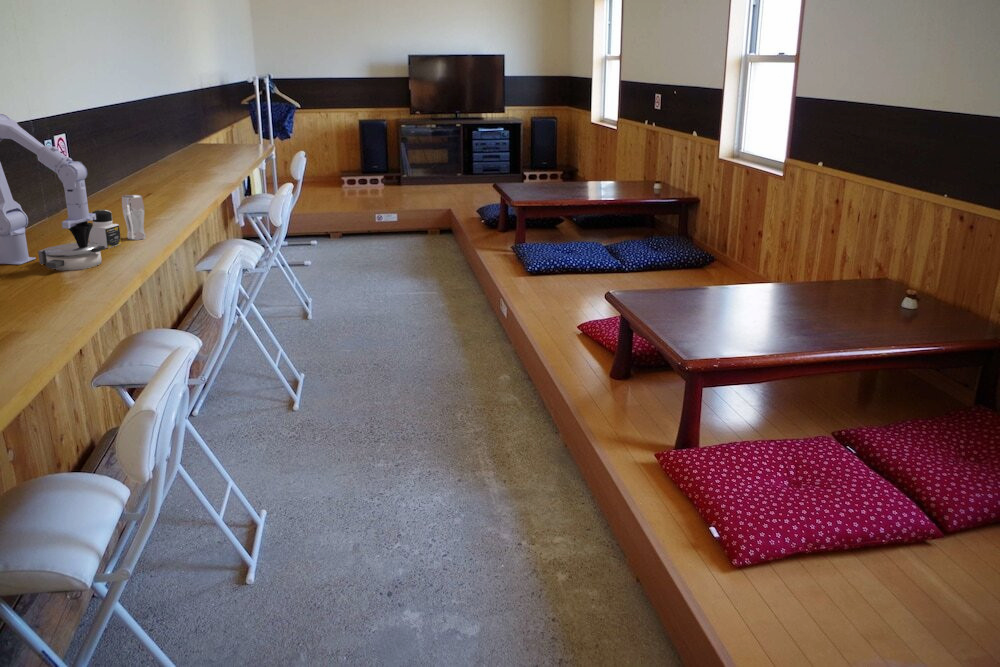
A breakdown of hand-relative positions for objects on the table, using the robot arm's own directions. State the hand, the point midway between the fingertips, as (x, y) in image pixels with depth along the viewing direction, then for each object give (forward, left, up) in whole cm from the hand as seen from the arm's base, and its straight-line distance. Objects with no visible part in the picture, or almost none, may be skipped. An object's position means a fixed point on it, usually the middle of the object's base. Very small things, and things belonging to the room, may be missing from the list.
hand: (83, 247), depth 243 cm
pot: (-3, 0, -6) cm, 7 cm away
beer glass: (-4, +38, -6) cm, 39 cm away
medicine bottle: (-8, +25, -6) cm, 27 cm away
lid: (-3, 0, -1) cm, 3 cm away
